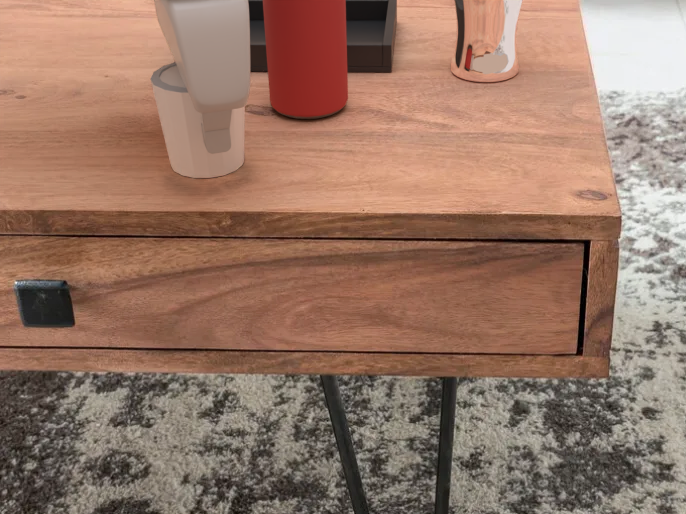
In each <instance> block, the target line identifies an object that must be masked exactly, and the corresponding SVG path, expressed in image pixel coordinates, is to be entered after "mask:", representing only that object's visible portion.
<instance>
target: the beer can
mask: <svg viewBox="0 0 686 514" xmlns="http://www.w3.org/2000/svg"><path fill="white" fill-rule="evenodd" d="M263 11H264V25H265V39H266V53H267V66H268V72H267V78H268V79H267V80H268V92H269V103H270V106H271V107H272V109H273V110H275V111H276V112H277V113H279V114H280V115H282V116H284V117H287V118H292V119H298V120H315V119H322V118H325V117H326V118H327V117H330V116H332V115H334V114H337V113H339V112H340V111H341V110H342V109H344V107H345V106H346V105H347V103H348V100H349V85H348V84H349V77H348V76H349V75H348V72H347V36H346V0H263Z"/></svg>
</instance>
